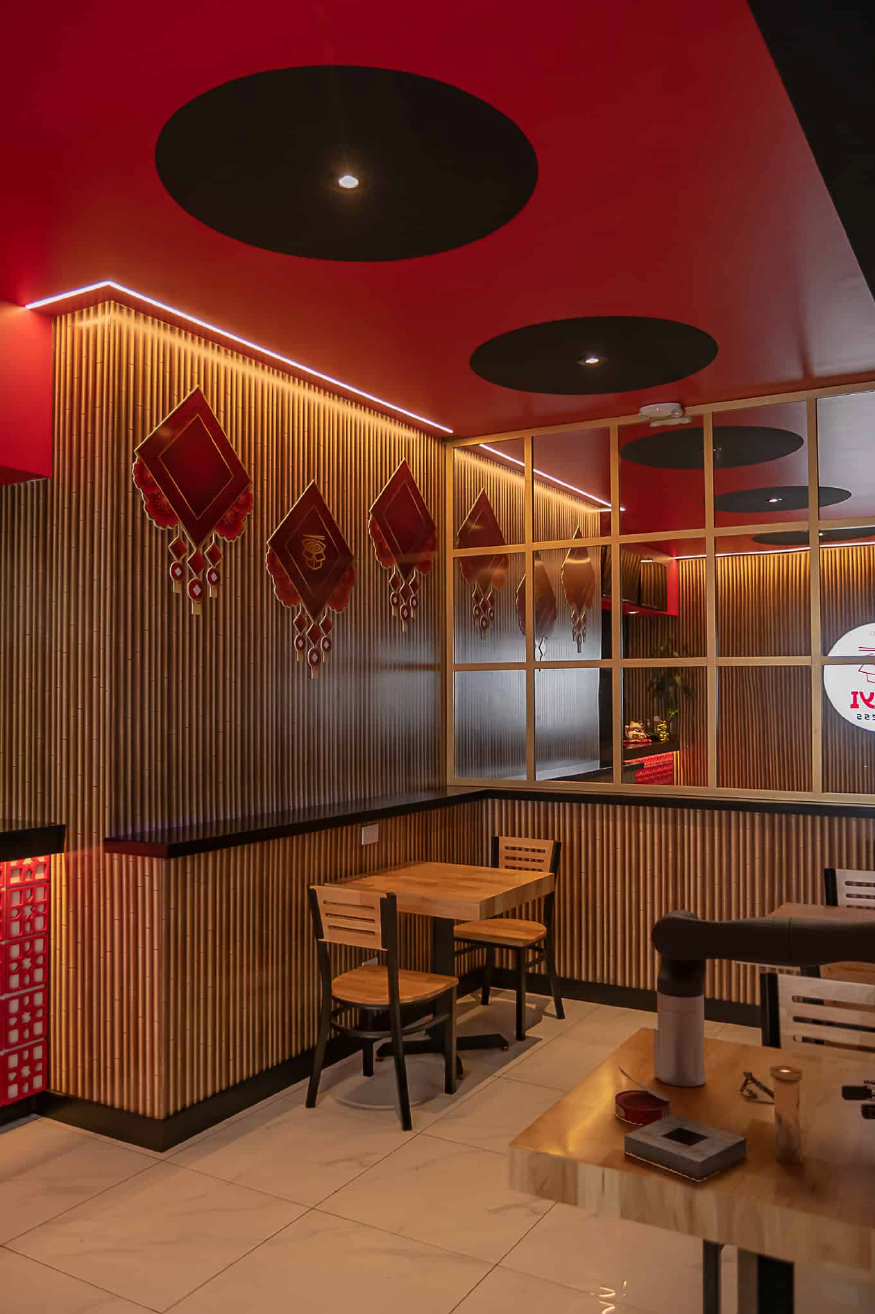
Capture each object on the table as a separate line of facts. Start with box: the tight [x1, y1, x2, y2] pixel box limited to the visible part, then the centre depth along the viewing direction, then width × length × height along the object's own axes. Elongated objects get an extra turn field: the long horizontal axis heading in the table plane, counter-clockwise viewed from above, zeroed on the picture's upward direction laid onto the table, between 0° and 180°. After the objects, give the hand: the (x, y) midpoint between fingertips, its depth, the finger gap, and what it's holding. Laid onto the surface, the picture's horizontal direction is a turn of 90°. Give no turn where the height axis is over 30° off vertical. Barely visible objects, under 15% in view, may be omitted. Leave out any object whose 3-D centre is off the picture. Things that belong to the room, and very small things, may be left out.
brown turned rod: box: [739, 1070, 774, 1101], centre depth 184 cm, size 2×8×4 cm, turn 47°
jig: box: [623, 1113, 747, 1181], centre depth 157 cm, size 14×14×3 cm
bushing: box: [769, 1064, 803, 1165], centre depth 156 cm, size 5×5×14 cm
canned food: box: [614, 1066, 671, 1125], centre depth 174 cm, size 11×10×10 cm
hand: (851, 1101), depth 156 cm, fingers open, 8 cm apart
